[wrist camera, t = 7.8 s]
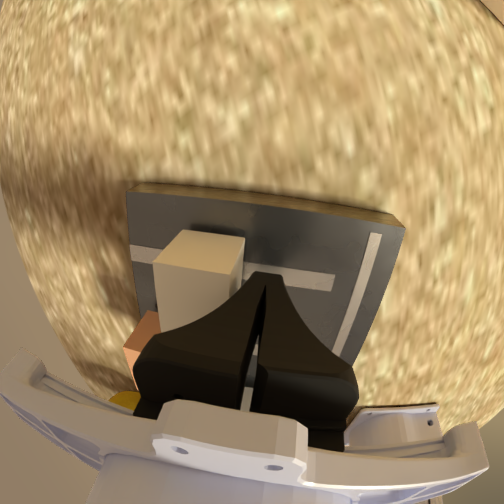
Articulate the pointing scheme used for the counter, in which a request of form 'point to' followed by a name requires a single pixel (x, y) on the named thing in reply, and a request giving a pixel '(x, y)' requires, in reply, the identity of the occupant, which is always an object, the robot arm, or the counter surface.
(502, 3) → the milk
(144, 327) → the block
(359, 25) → the counter surface
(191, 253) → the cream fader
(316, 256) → the panel
